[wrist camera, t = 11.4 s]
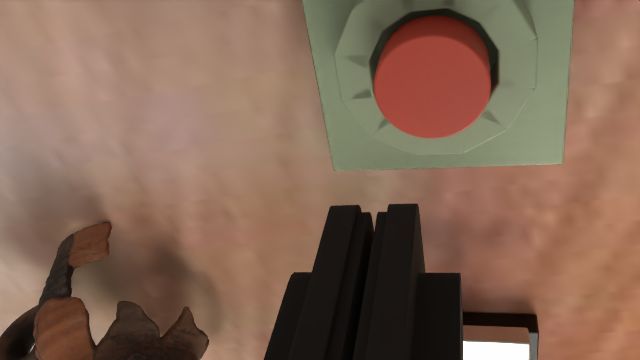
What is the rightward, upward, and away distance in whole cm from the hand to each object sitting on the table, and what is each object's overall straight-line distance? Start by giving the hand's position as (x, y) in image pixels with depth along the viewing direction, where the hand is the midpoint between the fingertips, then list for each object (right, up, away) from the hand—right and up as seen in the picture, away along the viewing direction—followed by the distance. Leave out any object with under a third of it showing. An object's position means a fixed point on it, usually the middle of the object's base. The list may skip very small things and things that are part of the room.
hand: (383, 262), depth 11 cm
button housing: (+3, +7, +10) cm, 13 cm away
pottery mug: (-13, -5, +23) cm, 27 cm away
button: (+3, +5, +8) cm, 10 cm away
